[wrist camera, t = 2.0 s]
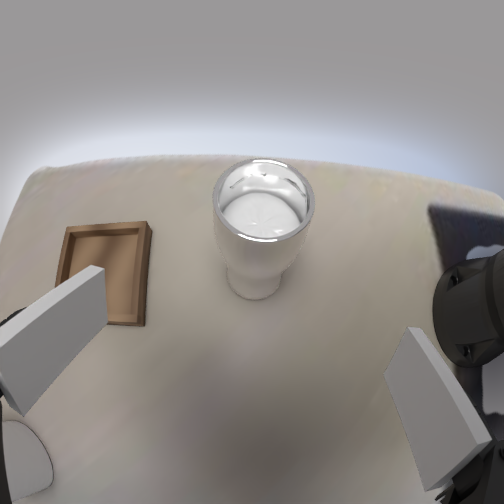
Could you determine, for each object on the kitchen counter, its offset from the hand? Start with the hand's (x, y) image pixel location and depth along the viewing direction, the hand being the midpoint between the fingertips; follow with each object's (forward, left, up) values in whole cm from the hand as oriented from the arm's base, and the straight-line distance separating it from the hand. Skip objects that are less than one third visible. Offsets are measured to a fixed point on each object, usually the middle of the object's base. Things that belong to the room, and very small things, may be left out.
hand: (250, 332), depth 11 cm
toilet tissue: (+31, +18, -19) cm, 40 cm away
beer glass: (-1, -9, -19) cm, 21 cm away
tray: (+17, -9, -18) cm, 26 cm away
